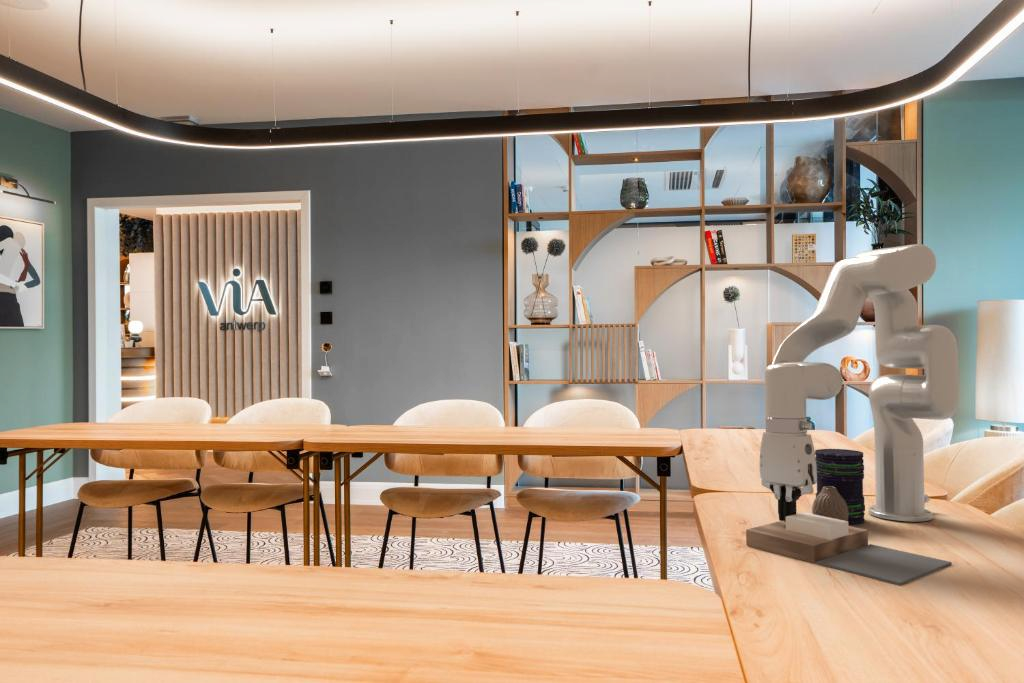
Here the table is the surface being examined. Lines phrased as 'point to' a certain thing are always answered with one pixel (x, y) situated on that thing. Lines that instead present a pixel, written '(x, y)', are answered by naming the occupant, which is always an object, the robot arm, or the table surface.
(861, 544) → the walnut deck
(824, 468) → the storage jar
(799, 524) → the ivory tile
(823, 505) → the vase
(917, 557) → the charcoal mat
